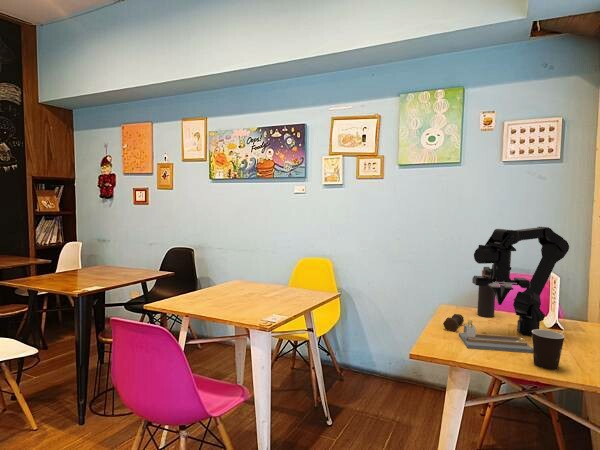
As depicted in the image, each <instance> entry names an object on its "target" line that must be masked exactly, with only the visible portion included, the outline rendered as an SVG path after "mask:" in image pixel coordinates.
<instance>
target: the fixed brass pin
mask: <svg viewBox="0 0 600 450" xmlns="http://www.w3.org/2000/svg"><path fill="white" fill-rule="evenodd" d="M518 337H519V342H526V338H525V337H522V336H518Z"/></svg>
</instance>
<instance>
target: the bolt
mask: <svg viewBox="0 0 600 450" xmlns="http://www.w3.org/2000/svg"><path fill="white" fill-rule="evenodd" d="M464 319H465V317H464V316H463V315H462V314H459V313H454V314H453V315H452V316H451V317H447V318H446V319H444V321H443V323H442V325H443V328H444V329H445V331H447V332H453V333H454V332H456V331H457V329H458V328H459V327H460V326H461V325H462V324H464V321H465V320H464Z"/></svg>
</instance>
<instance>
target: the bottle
mask: <svg viewBox="0 0 600 450" xmlns="http://www.w3.org/2000/svg"><path fill="white" fill-rule="evenodd" d="M481 276H484V277H486V278H487V279H489V278H488V276H486V275H483V269H482V270H481ZM477 291H478V294H477V312H476V313H477V315H478V316H480V317H483V318H493V317H495V310H496V309H495V308H496V307H495V306H496V296H495V293H494V291H493V289H492V288H491V287H489V286H488V284H487V285H486V286H478V290H477Z"/></svg>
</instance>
